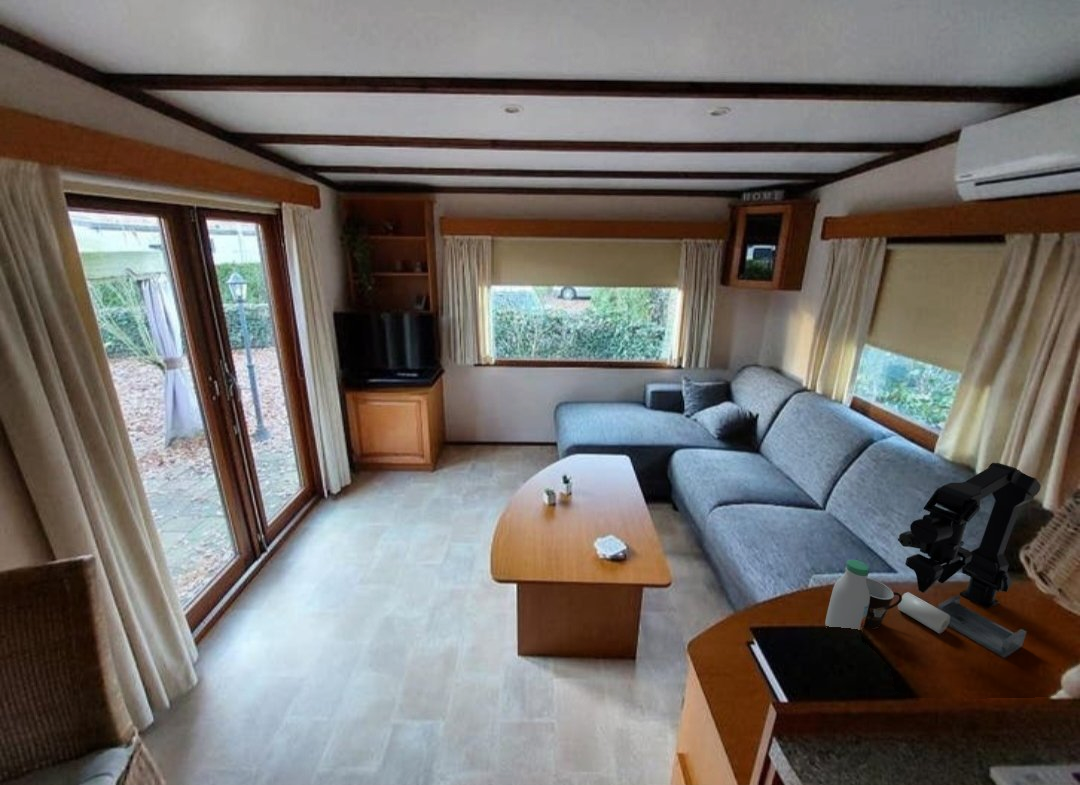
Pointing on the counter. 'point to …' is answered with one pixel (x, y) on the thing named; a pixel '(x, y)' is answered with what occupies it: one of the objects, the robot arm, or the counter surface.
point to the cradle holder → (982, 628)
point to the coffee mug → (878, 602)
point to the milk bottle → (850, 598)
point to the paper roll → (924, 612)
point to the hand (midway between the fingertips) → (931, 586)
